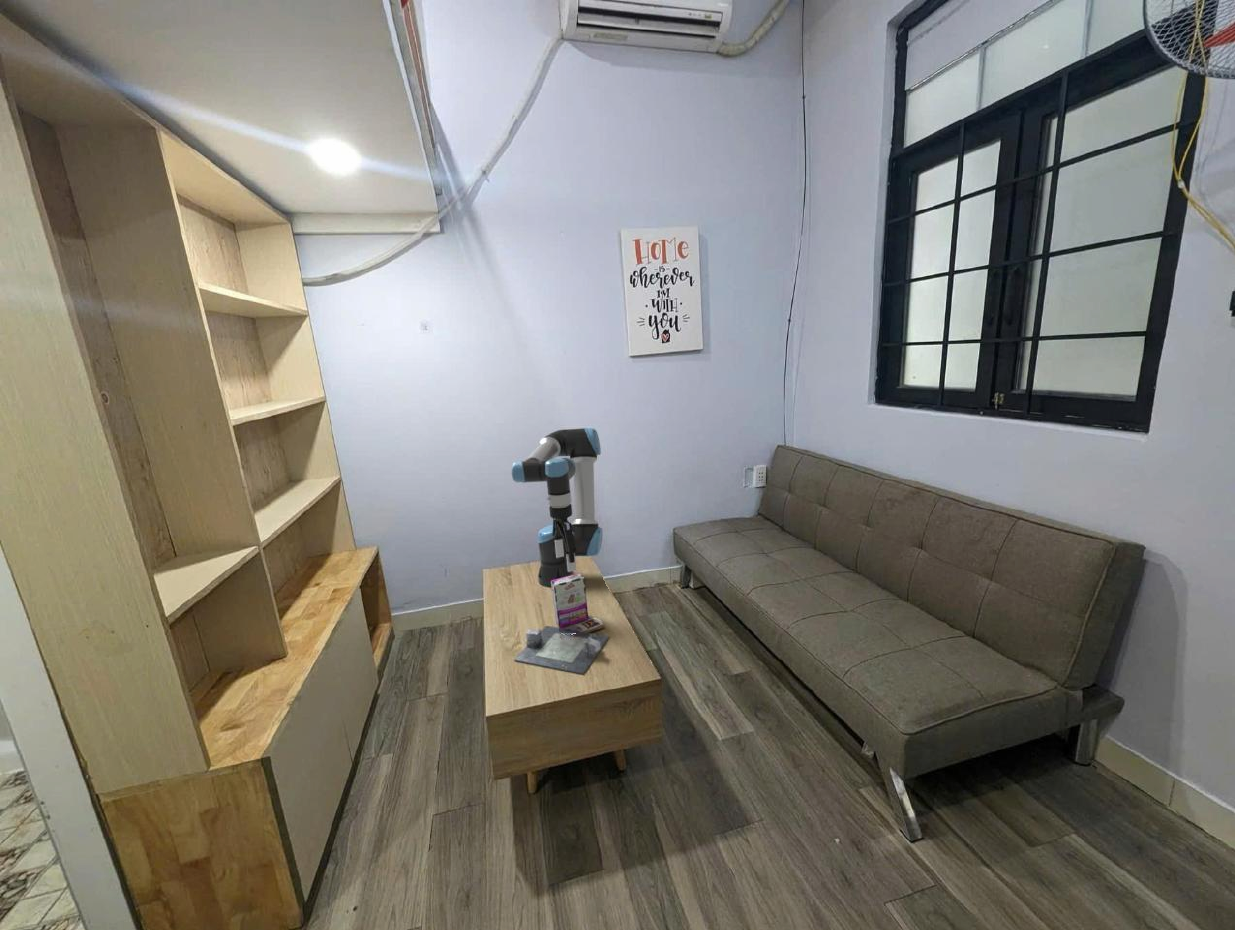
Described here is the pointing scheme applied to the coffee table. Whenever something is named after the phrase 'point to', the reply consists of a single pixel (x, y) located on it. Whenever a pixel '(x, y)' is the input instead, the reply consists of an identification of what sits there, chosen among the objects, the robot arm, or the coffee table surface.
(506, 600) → the coffee table surface
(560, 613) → the candy bar box
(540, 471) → the robot arm
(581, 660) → the base
